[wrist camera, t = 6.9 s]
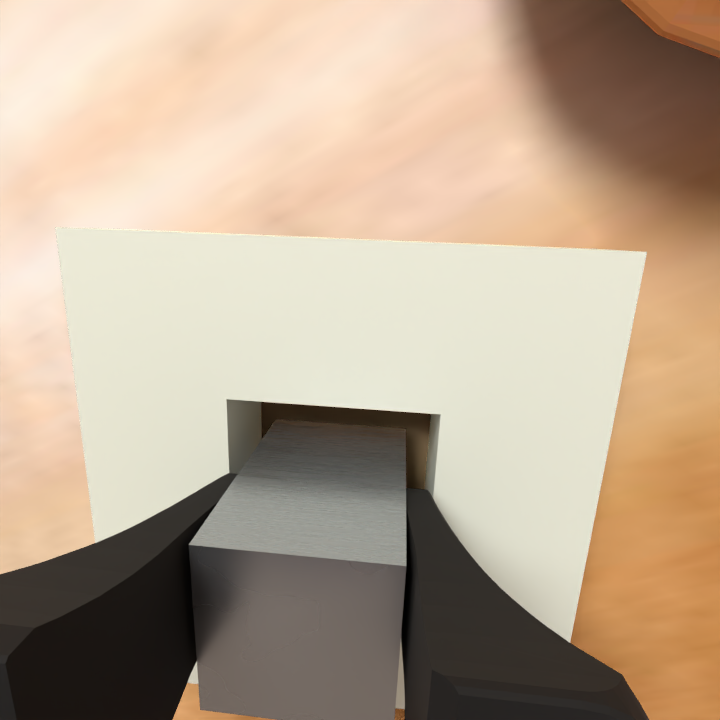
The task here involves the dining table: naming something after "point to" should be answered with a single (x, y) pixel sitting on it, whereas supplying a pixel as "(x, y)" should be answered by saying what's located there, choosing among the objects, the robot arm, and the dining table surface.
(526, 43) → the dining table surface
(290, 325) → the socket block
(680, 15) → the pie
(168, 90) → the dining table surface
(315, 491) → the peg
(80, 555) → the robot arm
